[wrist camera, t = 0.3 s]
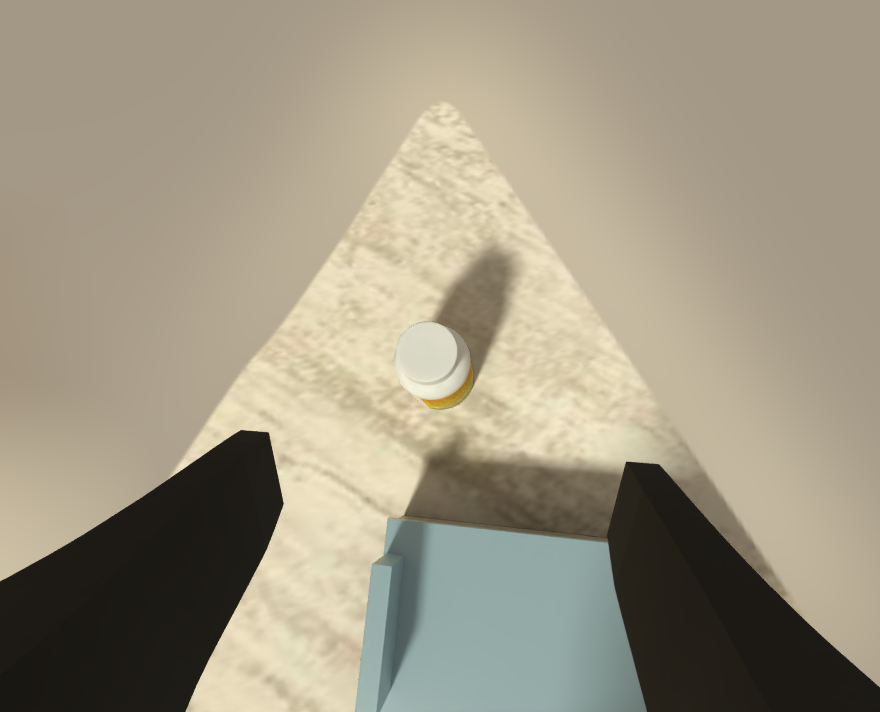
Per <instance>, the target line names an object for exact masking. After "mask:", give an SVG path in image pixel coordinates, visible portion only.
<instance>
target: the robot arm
mask: <svg viewBox="0 0 880 712" xmlns="http://www.w3.org/2000/svg"><path fill="white" fill-rule="evenodd" d="M283 504H284V503H283V498H282V493H281V489H280V484H279V479H278V474H277V469H276V465H275V460H274V455H273V450H272V446H271V441H270V436H269V432H258V431H245V430H240V431H239V432H237V433H236V434H234V435H232V436H231V437H229V438H228V439H226V440H225V441H223V442H222V443H220V444H219V445H217V446H216V447H214V448H213V449H212V450H210V451H209V452H207V453H206V454H204V455H203V456H202V457H200V458H199V459H197V460H196V461H194V462H193V463H191V464H190V465H189V466H187V467H186V468H184V469H183V470H181V471H180V472H178V473H177V474H176V475H174V476H173V477H171V478H170V479H168V480H167V481H165V482H164V483H162V484H161V485H159V486H158V487H157V488H155V489H154V490H152V491H151V492H149V493H148V494H146V495H145V496H143V497H142V498H140V499H139V500H137V501H136V502H134V503H132V504H131V505H129V506H128V507H126V508H125V509H123V510H121V511H120V512H118V513H117V514H115V515H114V516H112V517H110V518H109V519H107V520H106V521H104V522H103V523H101V524H100V525H98V526H96V527H95V528H93V529H92V530H90V531H88V532H87V533H85V534H84V535H82V536H80V537H79V538H77V539H75V540H74V541H72V542H70V543H69V544H67V545H65V546H64V547H62V548H60V549H58V550H57V551H55V552H53V553H51V554H50V555H48V556H46V557H44V558H42V559H41V560H39V561H37V562H35V563H33V564H31V565H30V566H28V567H26V568H24V569H22V570H21V571H19V572H17V573H15V574H13V575H12V576H10V577H8V578H6V579H4V580H2V581H0V712H185V711H186V709H187V707H188V704H189V702H190V699H191V697H192V695H193V692H194V690H195V688H196V685H197V683H198V681H199V679H200V677H201V675H202V673H203V671H204V669H205V667H206V665H207V662H208V660H209V658H210V656H211V655H212V653H213V651H214V649H215V647H216V645H217V643H218V641H219V639H220V638H221V636H222V634H223V632H224V630H225V628H226V626H227V624H228V622H229V621H230V619H231V617H232V615H233V613H234V611H235V609H236V607H237V606H238V604H239V602H240V600H241V598H242V596H243V594H244V592H245V590H246V589H247V587H248V585H249V583H250V581H251V579H252V577H253V575H254V573H255V571H256V569H257V567H258V565H259V564H260V562H261V560H262V558H263V556H264V554H265V552H266V550H267V547H268V545H269V542H270V540H271V537H272V534H273V532H274V529H275V527H276V524H277V521H278V518H279V516H280V513H281V510H282V507H283ZM607 538H608V545H609V553H610V561H611V568H612V574H613V581H614V587H615V591H616V595H617V599H618V603H619V607H620V611H621V615H622V619H623V623H624V627H625V631H626V634H627V638H628V642H629V646H630V649H631V653H632V657H633V661H634V665H635V668H636V672H637V676H638V680H639V684H640V687H641V691H642V695H643V699H644V703H645V706H646V710H647V712H880V687H879V686H877V685H876V684H875V683H874V682H873V681H872V680H871V679H870V678H868V677H867V676H866V675H865V674H864V673H863V672H862V671H860V670H859V669H858V668H857V667H856V666H855V665H854V664H853V663H851V662H850V661H849V660H848V659H847V658H846V657H844V656H843V655H842V654H841V653H840V652H839V651H838V650H837V649H835V648H834V647H833V646H832V645H831V644H830V643H829V642H828V641H827V640H825V639H824V638H823V637H822V636H821V635H820V634H819V633H818V632H817V631H816V630H815V629H814V628H813V627H812V626H810V625H809V624H808V623H807V622H806V621H805V620H804V619H803V618H802V617H801V616H800V615H799V614H798V613H797V612H796V611H795V610H794V609H793V608H792V607H791V606H790V605H789V604H788V603H787V602H786V601H785V600H784V599H783V598H782V597H781V596H780V595H779V594H778V593H777V592H776V591H775V590H774V589H772V588H771V587H770V586H769V585H768V584H767V583H766V582H765V581H764V579H763V578H762V577H761V576H760V575H759V574H758V573H757V572H756V571H755V570H754V569H753V568H752V567H751V566H750V565H749V564H748V563H747V562H746V561H745V560H744V559H743V558H742V557H741V556H740V554H739V553H738V552H737V551H736V550H735V549H734V548H733V547H732V546H731V545H730V544H729V543H728V542H727V541H726V539H725V538H724V537H723V536H722V535H721V534H720V533H719V532H718V531H717V530H716V528H715V527H714V526H713V525H712V524H711V523H710V522H709V521H708V520H707V518H706V517H705V516H704V515H703V514H702V513H701V512H700V510H699V509H698V508H697V507H696V506H695V505H694V504H693V503H692V501H691V500H690V499H689V498H688V497H687V496H686V495H685V493H684V492H683V491H682V490H681V489H680V488H679V487H678V485H677V484H676V483H675V482H674V481H673V480H672V478H671V477H670V476H669V475H668V474H667V473H666V472H665V470H664V469H663V468H662V467H661V466H660V465H659V464H649V463H637V462H626V464H625V468H624V472H623V476H622V480H621V483H620V487H619V491H618V495H617V499H616V503H615V507H614V510H613V514H612V518H611V522H610V526H609V530H608V534H607Z"/></svg>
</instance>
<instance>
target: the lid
mask: <svg viewBox="0 0 880 712" xmlns="http://www.w3.org/2000/svg"><path fill="white" fill-rule="evenodd" d="M355 712H647V710H646V706H645V703H644V699H643V695H642V691H641V687H640V684H639V680H638V676H637V672H636V668H635V665H634V661H633V657H632V653H631V649H630V646H629V642H628V638H627V634H626V631H625V627H624V623H623V619H622V615H621V611H620V607H619V603H618V599H617V595H616V591H615V587H614V581H613V574H612V568H611V561H610V553H609V545H608V542H607V541H598V540H589V539H580V538H571V537H562V536H553V535H544V534H535V533H526V532H517V531H508V530H499V529H490V528H481V527H472V526H463V525H454V524H445V523H436V522H427V521H418V520H409V519H400V518H391V517H390V518H388V521H387V530H386V539H385V548H384V556H382V557H381V558H380V559H378V560H377V561H376V562H374V563H373V564H372V569H371V577H370V586H369V595H368V603H367V612H366V620H365V629H364V638H363V646H362V655H361V663H360V672H359V681H358V689H357V698H356V707H355Z"/></svg>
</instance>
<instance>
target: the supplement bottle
mask: <svg viewBox="0 0 880 712" xmlns="http://www.w3.org/2000/svg"><path fill="white" fill-rule="evenodd" d="M394 370H395V374H396V377H397V379H398V381H399V382H400V384H401V385H402V386H403V388H404V389H405V390H406V391H407V392H408V393H410V394H411V395H412V396H413V397H414V398H415V399H416V400H417V401H418V402H419V403H420V404H422V405H424V406H425V407H427V408H430V409H434V410H446V409H450V408H453V407H455V406H457V405H459V404H460V403H462V402H463V401H464V400H465V399H466V398H467V396H468V395H469V393H470V391H471V389H472V386H473V369H472V363H471V357H470V352H469V349H468V347H467V345H466V343H465V341H464V340H463V338H462V337H461V336H460V335H459V334H458V333H457V332H456V331H454V330H453V329H451V328H449V327H447V326H444V325H441V324H439V323H436V322H420V323H417V324H415V325H413V326H411V327H409V328H408V329H407V330H406V331H405V332H404V333H403V334H402V335H401V337H400V339H399V341H398V344H397V348H396V351H395V355H394Z"/></svg>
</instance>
